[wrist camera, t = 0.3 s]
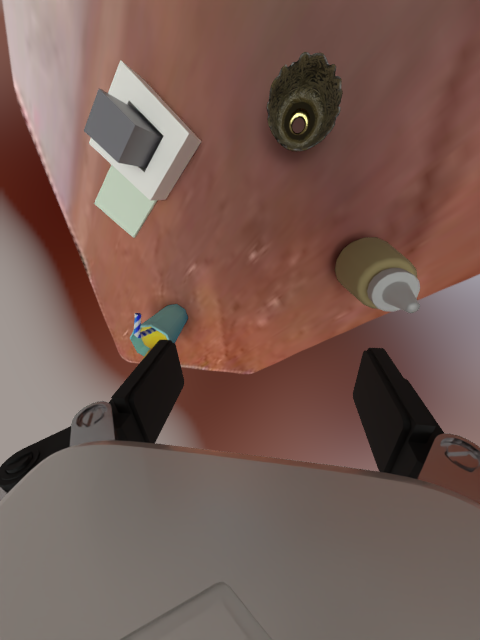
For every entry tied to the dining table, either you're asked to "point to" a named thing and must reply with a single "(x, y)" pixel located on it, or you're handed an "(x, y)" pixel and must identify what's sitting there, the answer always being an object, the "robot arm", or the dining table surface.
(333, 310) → the dining table surface
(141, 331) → the cup
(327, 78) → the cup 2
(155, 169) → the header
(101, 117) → the plug
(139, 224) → the mat
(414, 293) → the squeeze bottle
